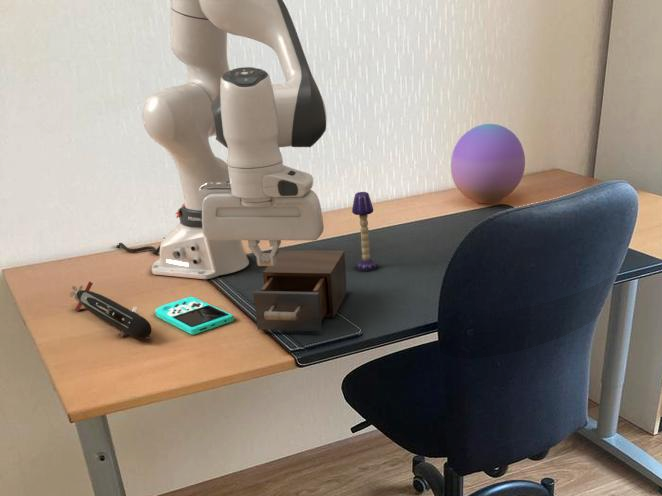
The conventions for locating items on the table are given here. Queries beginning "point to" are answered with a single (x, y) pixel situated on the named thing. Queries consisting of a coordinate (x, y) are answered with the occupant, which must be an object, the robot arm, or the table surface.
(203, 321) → the handheld game console
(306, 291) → the drawer
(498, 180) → the ball
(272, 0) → the robot arm
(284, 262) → the cabinet
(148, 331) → the submarine model
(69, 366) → the table surface
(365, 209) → the toy lamp
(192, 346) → the table surface
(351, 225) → the table surface
